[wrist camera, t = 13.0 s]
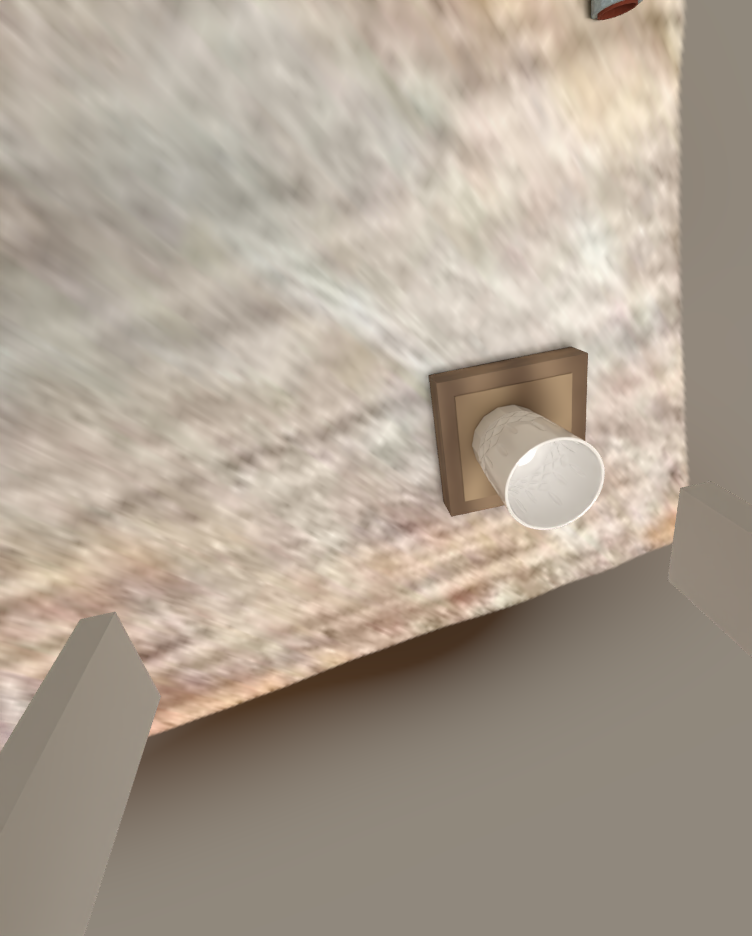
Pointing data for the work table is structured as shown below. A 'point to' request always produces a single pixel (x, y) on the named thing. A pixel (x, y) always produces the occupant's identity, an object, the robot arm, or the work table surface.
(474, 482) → the base
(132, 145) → the work table surface
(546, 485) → the white cup
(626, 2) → the aluminum foil
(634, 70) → the work table surface
